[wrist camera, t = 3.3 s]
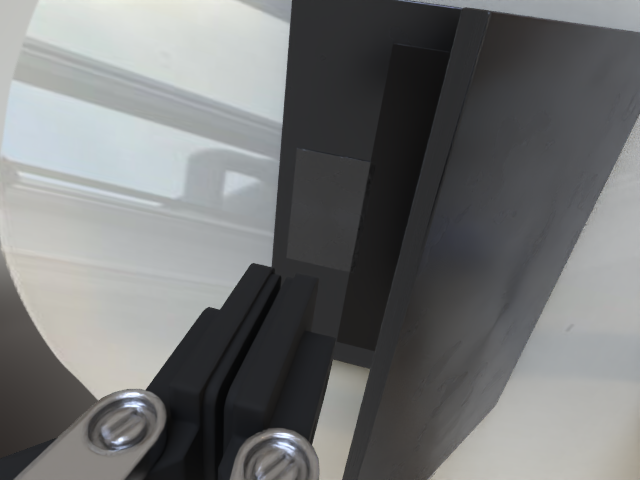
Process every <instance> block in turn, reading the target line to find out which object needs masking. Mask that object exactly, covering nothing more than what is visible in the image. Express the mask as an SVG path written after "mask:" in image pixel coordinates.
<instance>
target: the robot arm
mask: <svg viewBox="0 0 640 480" xmlns="http://www.w3.org/2000/svg"><path fill="white" fill-rule="evenodd" d="M281 280H282V278H281V275H277V274H275V269H274V268H272V267H268V266H264V265H259V264H255V263H252V264H251V265H250V266H249V268H248V269H247V271H246V272H245V274H244V275H243V277H242V278H241V280H240V281H239V283H238V284H237V285H236V287H235V288H234V290H233V291H232V293H231V294H230V296H229V297H228V299H227V300H226V302H225V303H224V305H223V306H222V308H221V309H220V310H219V309H215V308H210V307H208V308H206V309H205V310H204V311H203V312H202V314H201V315H200V316H199V318H198V319H197V320H196V322H195V323H194V324H193V326H192V327H191V329H190V330H189V331H188V333H187V334H186V335H185V337H184V338H183V340H182V341H181V342H180V344H179V345H178V346H177V348H176V349H175V350H174V352H173V353H172V355H171V356H170V357H169V359H168V360H167V361H166V363H165V364H164V366H163V367H162V368H161V370H160V371H159V372H158V374H157V375H156V376H155V378H154V379H153V381H152V382H151V383H150V385H149V386H148V387H147V389H146V390H142V389H126V390H122V391H117V392H114V393H112V394H110V395H107V396H105V397H103V398H101V399H100V400H99V401H97V402H96V403H95V404H93V405H92V406H91V407H90V408H89V409H88V410H87V411H86V412H84V413H83V414H82V415H81V416H80V417H79V418H78V419H77V420H76V421H75V422H74V423H73V424H72V425H71V426H70V427H69V428H67V429H66V430H65V432H63V433H62V434H61V435H60V436H59V437H57V438H55V439H52V440H50V441H47V442H44V443H41V444H38V445H36V446H33V447H30V448H27V449H25V450H22V451H19V452H16V453H14V454H11V455H8V456H6V457H3V458H0V480H319V461H318V457H317V454H316V452H315V450H314V448H313V446H312V443H313V439H314V435H315V431H316V427H317V423H318V419H319V416H320V412H321V408H322V404H323V400H324V396H325V392H326V388H327V384H328V379H329V375H330V370H331V366H332V361H333V355H334V350H335V345H336V338H334V337H330V336H326V335H322V334H317V333H313V332H311V330H312V324H313V317H314V310H315V303H316V297H317V290H318V283H319V278H317V277H312V276H308V275H303V274H299V273H297V274H296V275H295V277H294V278H290V277H287V278H286V279H285V281H284V283H283V285H282V287H281Z"/></svg>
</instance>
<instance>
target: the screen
mask: <svg viewBox="0 0 640 480" xmlns="http://www.w3.org/2000/svg"><path fill="white" fill-rule="evenodd" d="M639 114H640V32H633V31H626V30H619V29H612V28H606V27H599V26H592V25H585V24H578V23H571V22H564V21H557V20H551V19H544V18H537V17H530V16H523V15H516V14H509V13H502V12H496V11H489V10H481V9H474V8H467V7H466V8H463V9H462V11H461V15H460V18H459V22H458V26H457V30H456V34H455V38H454V42H453V46H452V50H451V54H450V58H449V62H448V66H447V70H446V74H445V78H444V81H443V85H442V89H441V93H440V97H439V101H438V105H437V109H436V113H435V117H434V121H433V125H432V129H431V133H430V137H429V140H428V144H427V148H426V152H425V156H424V160H423V164H422V168H421V172H420V176H419V180H418V184H417V188H416V192H415V196H414V199H413V203H412V207H411V211H410V215H409V219H408V223H407V227H406V231H405V235H404V239H403V243H402V247H401V251H400V255H399V258H398V262H397V266H396V270H395V274H394V278H393V282H392V286H391V290H390V294H389V298H388V302H387V306H386V310H385V314H384V318H383V321H382V325H381V329H380V333H379V337H378V341H377V345H376V349H375V353H374V357H373V361H372V365H371V369H370V373H369V377H368V380H367V384H366V388H365V392H364V396H363V400H362V404H361V408H360V412H359V416H358V420H357V424H356V428H355V432H354V436H353V439H352V443H351V447H350V451H349V455H348V459H347V463H346V467H345V471H344V475H343V479H342V480H427V479H428V478H429V477H430V476H431V475H432V474H433V473H434V472H435V471H436V470H437V469H438V467H439V466H440V465H441V464H442V463H443V462H444V461H445V460H446V459H447V458H448V457H449V456H450V454H451V453H452V452H453V451H454V450H455V449H456V448H457V447H458V446H459V445H460V444H461V443H462V441H463V440H464V439H465V438H466V437H467V436H468V435H469V434H470V433H471V432H472V431H473V430H474V428H475V427H476V426H477V425H478V424H479V423H480V422H481V421H482V420H483V419H484V418H485V417H486V415H487V414H488V413H489V412H490V411H491V410H492V409H493V408H494V407H495V406H496V404H497V402H498V400H499V398H500V396H501V394H502V392H503V390H504V388H505V386H506V384H507V382H508V380H509V378H510V376H511V373H512V371H513V369H514V367H515V365H516V363H517V361H518V359H519V357H520V355H521V353H522V351H523V349H524V347H525V345H526V343H527V341H528V339H529V337H530V335H531V333H532V331H533V329H534V327H535V325H536V323H537V321H538V319H539V317H540V315H541V313H542V311H543V309H544V307H545V305H546V303H547V301H548V299H549V297H550V294H551V292H552V290H553V288H554V286H555V284H556V282H557V280H558V278H559V276H560V274H561V272H562V270H563V268H564V266H565V264H566V262H567V260H568V258H569V256H570V254H571V252H572V250H573V248H574V246H575V244H576V242H577V240H578V238H579V236H580V234H581V232H582V230H583V228H584V226H585V224H586V222H587V220H588V218H589V215H590V213H591V211H592V209H593V207H594V205H595V203H596V201H597V199H598V197H599V195H600V193H601V191H602V189H603V187H604V185H605V183H606V181H607V179H608V177H609V175H610V173H611V171H612V169H613V167H614V165H615V163H616V161H617V159H618V157H619V155H620V153H621V151H622V149H623V147H624V145H625V143H626V141H627V139H628V136H629V134H630V132H631V130H632V128H633V126H634V124H635V122H636V120H637V118H638V116H639Z"/></svg>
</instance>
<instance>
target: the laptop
mask: <svg viewBox="0 0 640 480" xmlns="http://www.w3.org/2000/svg"><path fill="white" fill-rule="evenodd" d="M462 9H463V8H459V7H452V6H445V5H438V4H431V3H423V2H416V1H409V0H292V9H291V22H290V35H289V48H288V61H287V74H286V87H285V101H284V114H283V127H282V140H281V153H280V166H279V179H278V192H277V205H276V219H275V232H274V245H273V258H272V268H274V269H275V274H277V275H281V278H282V280H281V287H282V285H283V283H284V281H285V279H286V278H287V277H290V278H294V277H295V275H296V274H297V273H299V274H303V275H308V276H312V277H317V278H319V283H318V290H317V297H316V303H315V310H314V317H313V324H312V330H311V332H313V333H317V334H322V335H326V336H330V337H334V338H336V345H335V350H334V355H333V359H334V360H338V361H342V362H346V363H350V364H354V365H358V366H361V367H365V368H369V369H371V365H372V361H373V357H374V353H375V349H376V345H377V341H378V337H379V333H380V329H381V325H382V321H383V318H384V314H385V310H386V306H387V302H388V298H389V294H390V290H391V286H392V282H393V278H394V274H395V270H396V266H397V262H398V258H399V255H400V251H401V247H402V243H403V239H404V235H405V231H406V227H407V223H408V219H409V215H410V211H411V207H412V203H413V199H414V196H415V192H416V188H417V184H418V180H419V176H420V172H421V168H422V164H423V160H424V156H425V152H426V148H427V144H428V140H429V137H430V133H431V129H432V125H433V121H434V117H435V113H436V109H437V105H438V101H439V97H440V93H441V89H442V85H443V81H444V78H445V74H446V70H447V66H448V62H449V58H450V54H451V50H452V46H453V42H454V38H455V34H456V30H457V26H458V22H459V18H460V15H461V11H462Z"/></svg>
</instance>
